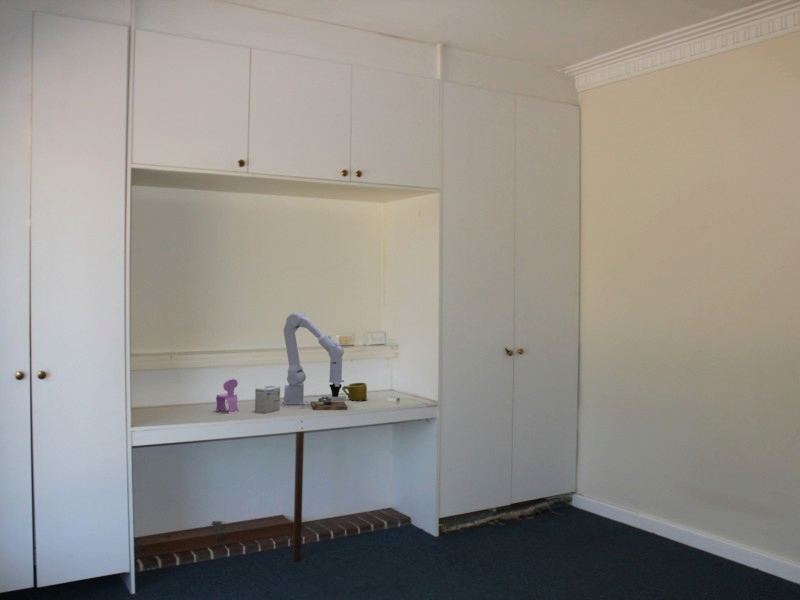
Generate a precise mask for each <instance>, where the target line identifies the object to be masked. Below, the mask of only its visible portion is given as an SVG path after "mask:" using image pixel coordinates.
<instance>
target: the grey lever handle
mask: <svg viewBox="0 0 800 600" xmlns="http://www.w3.org/2000/svg"><path fill="white" fill-rule="evenodd" d="M331 401H344V402H346V401H347V395H346V396H343V395H341V396H339V395H338V396H332V395H331V396H327V395H323V396H321V397H319V398H318V402H324V405H326V404H331Z"/></svg>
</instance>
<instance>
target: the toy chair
mask: <svg viewBox="0 0 800 600" xmlns="http://www.w3.org/2000/svg"><path fill="white" fill-rule="evenodd" d="M238 385H239V382H238V380H237V379H236V378H230V379H227V380H226V381H225V382H224V383H223V385H222V386H223V389H224V391H226V393H221V394H216V397H215V400H216V409H215V411H216V410H221V411H224V410H223V409H226V410H228V412H227V414H230V413H229V412H235V411H239V412H240V410H239V408H238V394H235V389H236V388H237V386H238ZM226 402H227V404H228V408H227V405H226ZM235 413H236V412H235Z"/></svg>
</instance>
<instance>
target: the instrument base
mask: <svg viewBox="0 0 800 600" xmlns="http://www.w3.org/2000/svg"><path fill="white" fill-rule="evenodd" d="M318 401H319V400H318ZM318 401H317V400H316V401H310V406H311V408H312V410H313V411H325V410H326V411H339V410H342V411H344V410H345V411H348V405H347V404H346V401H331V404H326V405H324V402H318Z"/></svg>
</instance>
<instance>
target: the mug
mask: <svg viewBox="0 0 800 600" xmlns="http://www.w3.org/2000/svg"><path fill="white" fill-rule="evenodd" d="M341 390H342V392H344V393H345V394H346V396H347V398H348V399H349V400H350V401H354V402H355V401H356V402H357V401H358V402H363V401H366V400H367V397H368V395H367V392H368V391H367V390H368V388H367V383H365V382H355V383H350V384H348V385H343V386H342V387H341ZM346 390H347V391H346Z"/></svg>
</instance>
